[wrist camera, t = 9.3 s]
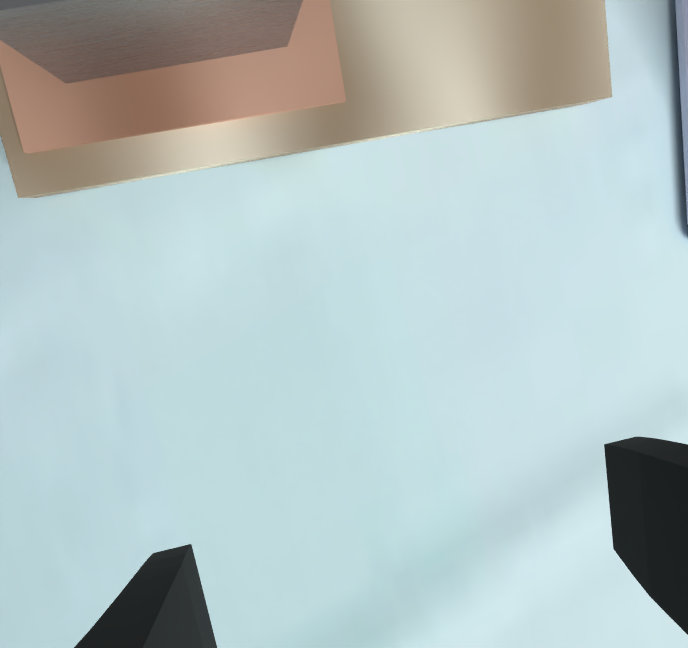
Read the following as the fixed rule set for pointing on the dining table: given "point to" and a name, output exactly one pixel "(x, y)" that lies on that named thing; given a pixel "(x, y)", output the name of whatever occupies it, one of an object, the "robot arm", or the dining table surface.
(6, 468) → the dining table surface
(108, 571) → the dining table surface
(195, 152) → the stand
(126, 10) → the collar
